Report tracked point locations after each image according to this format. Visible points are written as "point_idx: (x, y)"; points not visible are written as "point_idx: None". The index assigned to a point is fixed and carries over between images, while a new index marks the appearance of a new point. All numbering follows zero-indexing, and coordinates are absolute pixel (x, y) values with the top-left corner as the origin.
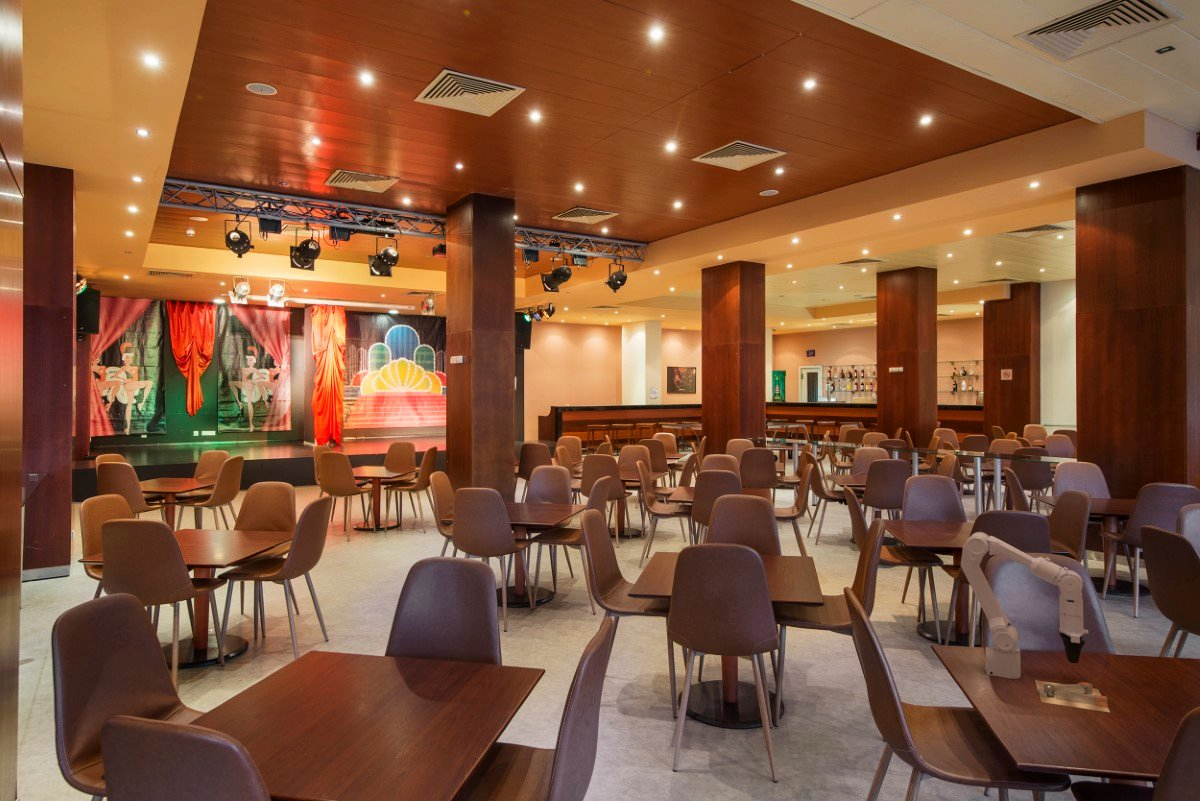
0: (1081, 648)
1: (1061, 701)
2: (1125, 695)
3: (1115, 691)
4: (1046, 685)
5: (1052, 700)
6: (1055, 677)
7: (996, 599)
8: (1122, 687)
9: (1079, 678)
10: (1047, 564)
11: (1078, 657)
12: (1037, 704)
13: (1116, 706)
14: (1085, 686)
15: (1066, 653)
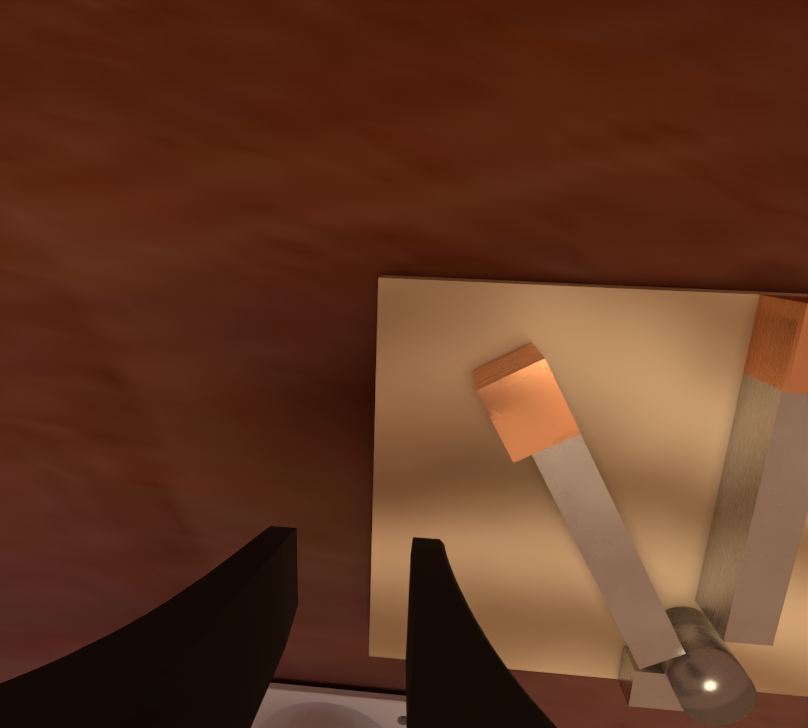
0: (536, 706)
1: None
2: (324, 65)
3: (258, 127)
4: (719, 713)
5: (776, 632)
6: (144, 486)
7: None
8: (123, 46)
9: (75, 334)
10: None
11: (455, 587)
12: None
13: (629, 197)
14: (572, 417)
15: (273, 667)
